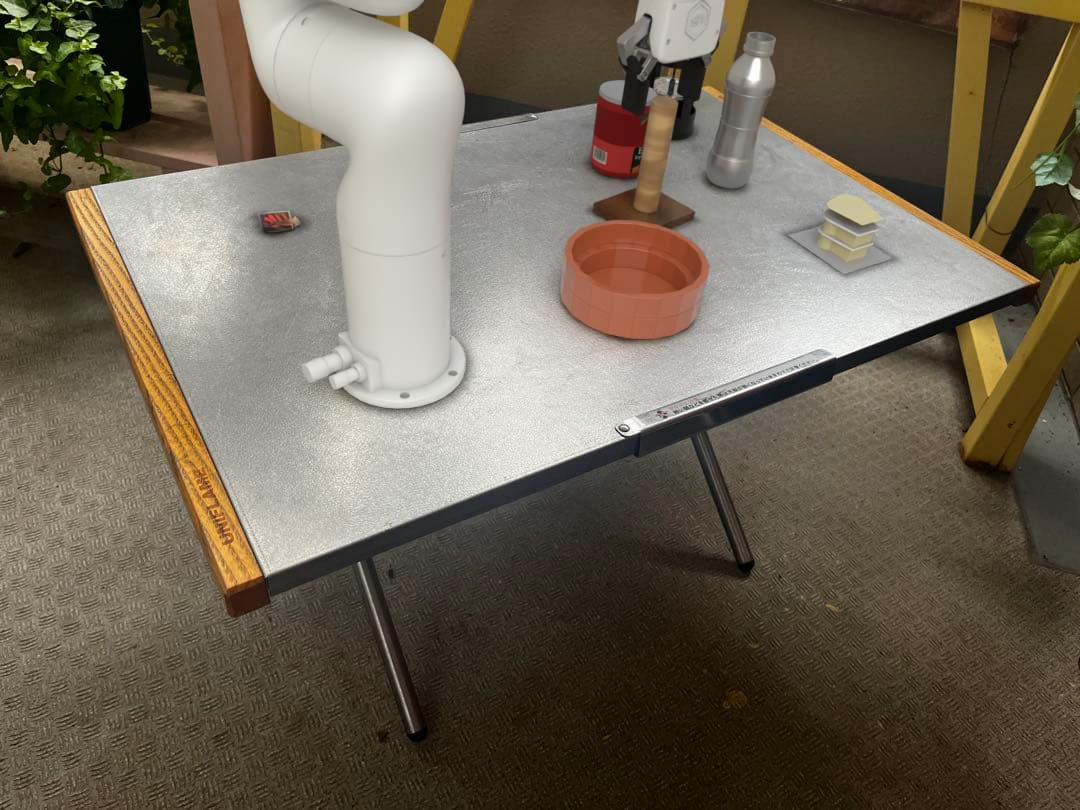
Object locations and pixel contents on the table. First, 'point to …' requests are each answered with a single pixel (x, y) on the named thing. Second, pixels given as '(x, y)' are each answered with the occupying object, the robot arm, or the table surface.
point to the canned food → (618, 133)
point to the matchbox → (277, 221)
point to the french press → (669, 89)
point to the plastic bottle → (742, 112)
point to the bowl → (633, 279)
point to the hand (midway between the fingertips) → (660, 104)
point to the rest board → (623, 209)
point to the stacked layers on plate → (845, 235)
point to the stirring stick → (655, 153)
